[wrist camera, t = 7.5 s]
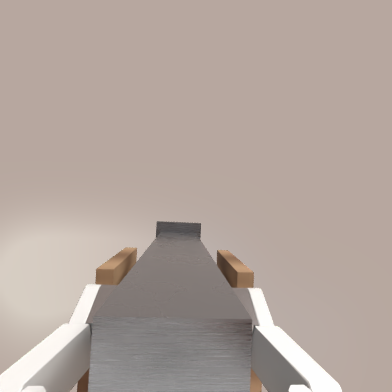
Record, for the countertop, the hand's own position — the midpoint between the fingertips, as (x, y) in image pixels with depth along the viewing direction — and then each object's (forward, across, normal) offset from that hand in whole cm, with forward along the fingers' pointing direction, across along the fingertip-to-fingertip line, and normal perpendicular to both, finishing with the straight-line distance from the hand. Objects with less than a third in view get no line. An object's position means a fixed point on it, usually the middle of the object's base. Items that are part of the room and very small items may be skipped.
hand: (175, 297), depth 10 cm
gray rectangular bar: (+4, 0, +5) cm, 6 cm away
